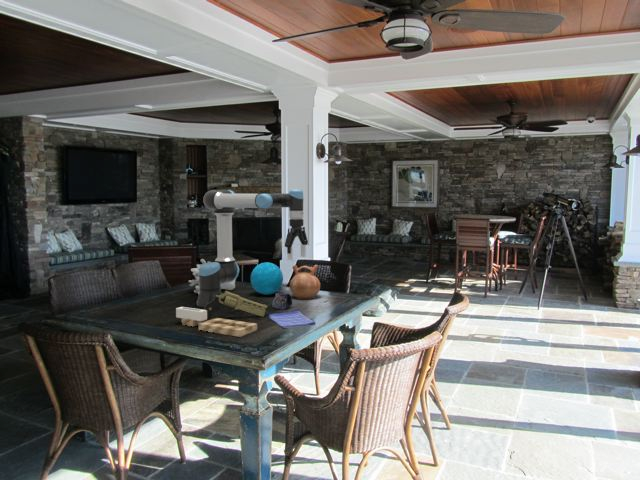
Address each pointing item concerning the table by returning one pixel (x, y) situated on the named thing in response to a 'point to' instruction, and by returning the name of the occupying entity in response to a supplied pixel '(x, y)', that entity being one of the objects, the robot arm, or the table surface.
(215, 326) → the board
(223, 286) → the abstract sculpture
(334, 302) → the table surface
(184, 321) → the stand
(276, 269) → the decorative sphere
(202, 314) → the strip
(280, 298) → the rock
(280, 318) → the dish towel
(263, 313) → the handgun
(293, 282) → the jug
